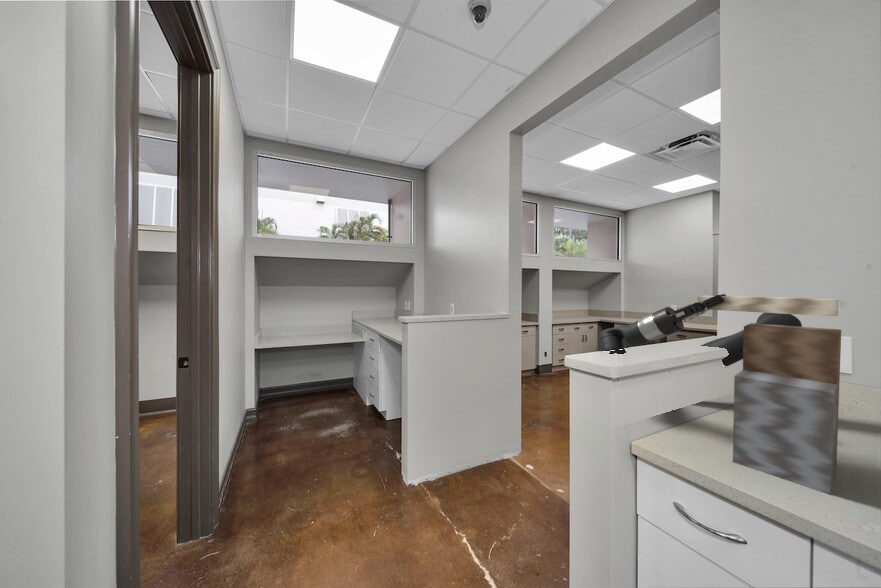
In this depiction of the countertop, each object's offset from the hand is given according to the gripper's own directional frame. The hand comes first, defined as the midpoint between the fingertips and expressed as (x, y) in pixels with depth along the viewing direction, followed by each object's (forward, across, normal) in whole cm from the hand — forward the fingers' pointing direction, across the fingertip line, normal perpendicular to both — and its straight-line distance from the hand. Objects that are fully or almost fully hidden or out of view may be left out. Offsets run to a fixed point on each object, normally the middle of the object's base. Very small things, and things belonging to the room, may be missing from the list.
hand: (724, 297), depth 84 cm
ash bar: (+4, 0, -6) cm, 7 cm away
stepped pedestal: (-10, +1, -40) cm, 41 cm away
